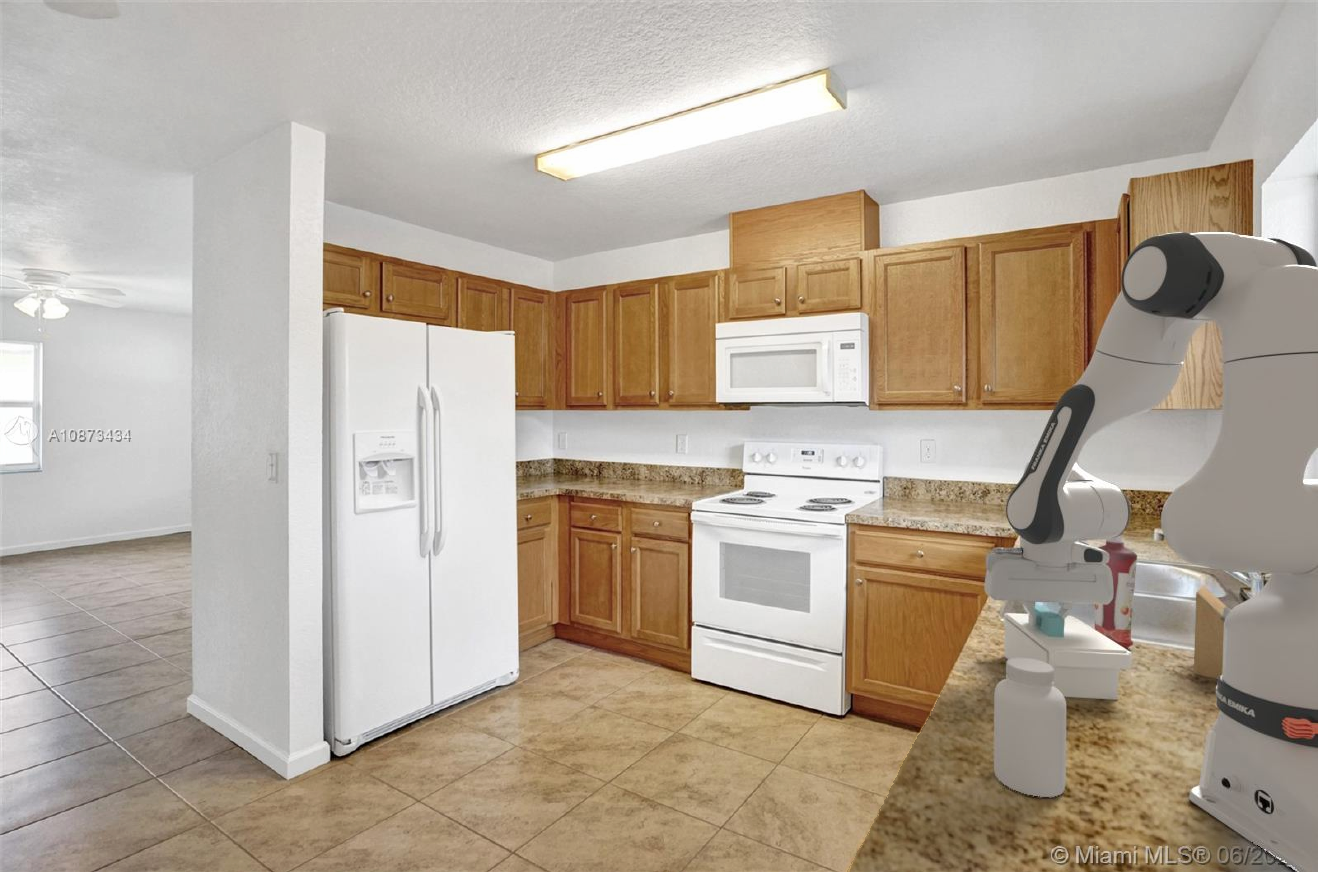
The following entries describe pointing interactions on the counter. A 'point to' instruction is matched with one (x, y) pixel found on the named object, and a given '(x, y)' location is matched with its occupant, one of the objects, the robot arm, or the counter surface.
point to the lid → (1072, 641)
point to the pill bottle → (1030, 729)
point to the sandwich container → (1209, 634)
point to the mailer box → (1063, 668)
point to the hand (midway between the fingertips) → (1046, 626)
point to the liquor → (1118, 594)
